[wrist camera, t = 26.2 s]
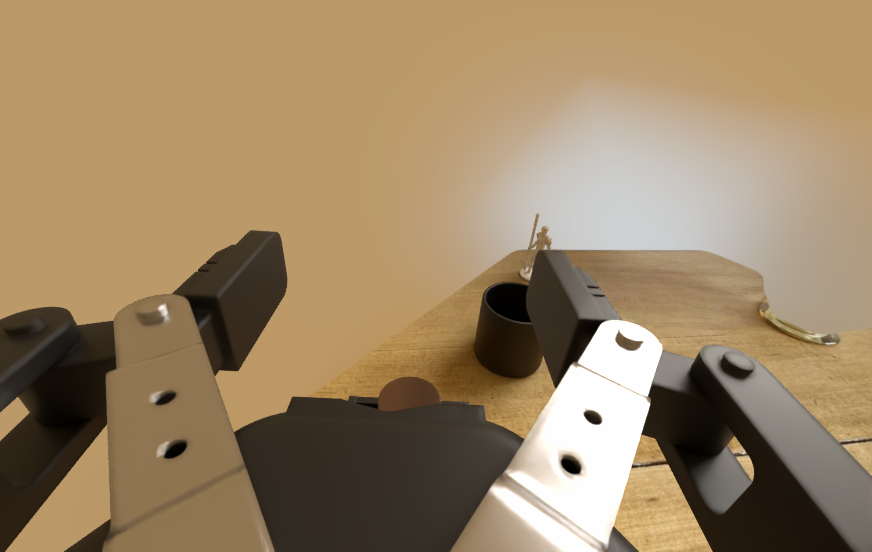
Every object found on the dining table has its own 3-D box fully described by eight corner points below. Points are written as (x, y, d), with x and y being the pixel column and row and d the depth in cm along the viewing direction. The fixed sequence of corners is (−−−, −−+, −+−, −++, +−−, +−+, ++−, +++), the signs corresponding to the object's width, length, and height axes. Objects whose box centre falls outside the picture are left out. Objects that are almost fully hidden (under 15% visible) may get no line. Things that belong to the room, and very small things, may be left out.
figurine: (514, 273, 72) (526, 215, 66) (531, 266, 75) (545, 210, 68) (535, 285, 68) (550, 225, 62) (552, 278, 71) (568, 220, 65)
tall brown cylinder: (375, 504, 33) (373, 425, 27) (382, 452, 37) (382, 374, 31) (430, 507, 33) (441, 429, 27) (431, 455, 37) (440, 378, 32)
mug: (522, 320, 59) (534, 272, 54) (551, 377, 49) (569, 323, 44) (464, 321, 58) (472, 271, 53) (481, 380, 47) (492, 324, 43)
